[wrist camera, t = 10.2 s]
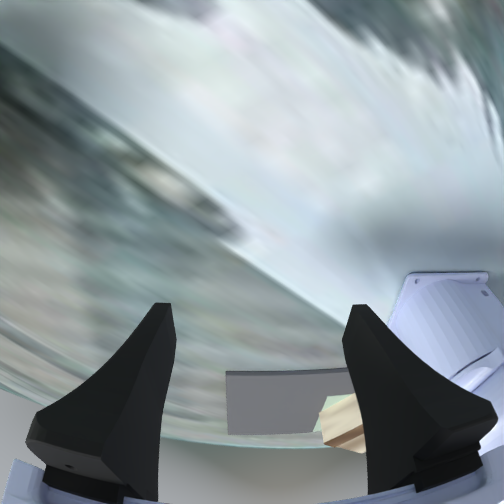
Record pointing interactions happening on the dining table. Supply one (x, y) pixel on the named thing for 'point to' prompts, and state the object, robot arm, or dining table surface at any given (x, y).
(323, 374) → the mat
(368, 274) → the dining table surface
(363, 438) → the block
